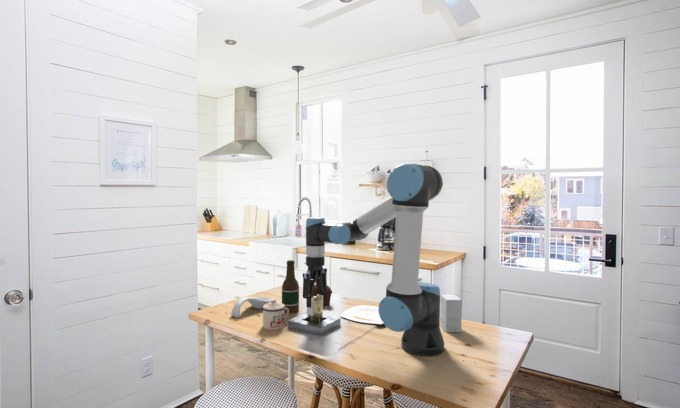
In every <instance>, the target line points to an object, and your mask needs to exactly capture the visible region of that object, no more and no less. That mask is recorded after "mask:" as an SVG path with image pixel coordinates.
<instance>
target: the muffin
mask: <svg viewBox="0 0 680 408" xmlns="http://www.w3.org/2000/svg"><path fill="white" fill-rule="evenodd" d="M325 293H326V295H323V308H327V307H329V306H330V304H331V297H332V294H333V290H332V289H331V288H330V286H329V285H327V292H325ZM317 294H318V290H317V285H316V284H315V285H314V290H313V296H317ZM313 296H312V297H313Z"/></svg>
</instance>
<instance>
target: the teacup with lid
mask: <svg viewBox="0 0 680 408" xmlns="http://www.w3.org/2000/svg"><path fill="white" fill-rule="evenodd" d="M285 309H286V314H285ZM261 310H262V327H263V328H264V329H265V330H270V331H271V330H279V329H283V328H284V327H285V320H286V319H288V316H289V315H290V314H289V309H288V308H286V307H285V305H284V304H282V302H279V301H277V299H276V298H275V299H274V298H273V299H272V300H271V302H269V303H268V304H265V305H264V306H263V308H262V309H261Z"/></svg>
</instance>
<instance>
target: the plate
mask: <svg viewBox="0 0 680 408" xmlns="http://www.w3.org/2000/svg"><path fill="white" fill-rule="evenodd" d="M378 308H379V306H375V305H374V306H373V305H362V304H361V305H360V304H359V305H357V306H353V307H351V308H348V309H346V310H345V311H343V312H342V314H341V316H340V318H343V319H346V320H348V321H352V322H356V323H359V324H360V323H361V324H368V325H375V326H382V325H384V322H383V321H382V320H381V318H380V316H379V311H378ZM357 317H358V318H357ZM360 318H361V319H360ZM365 319H366V320H365Z"/></svg>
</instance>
